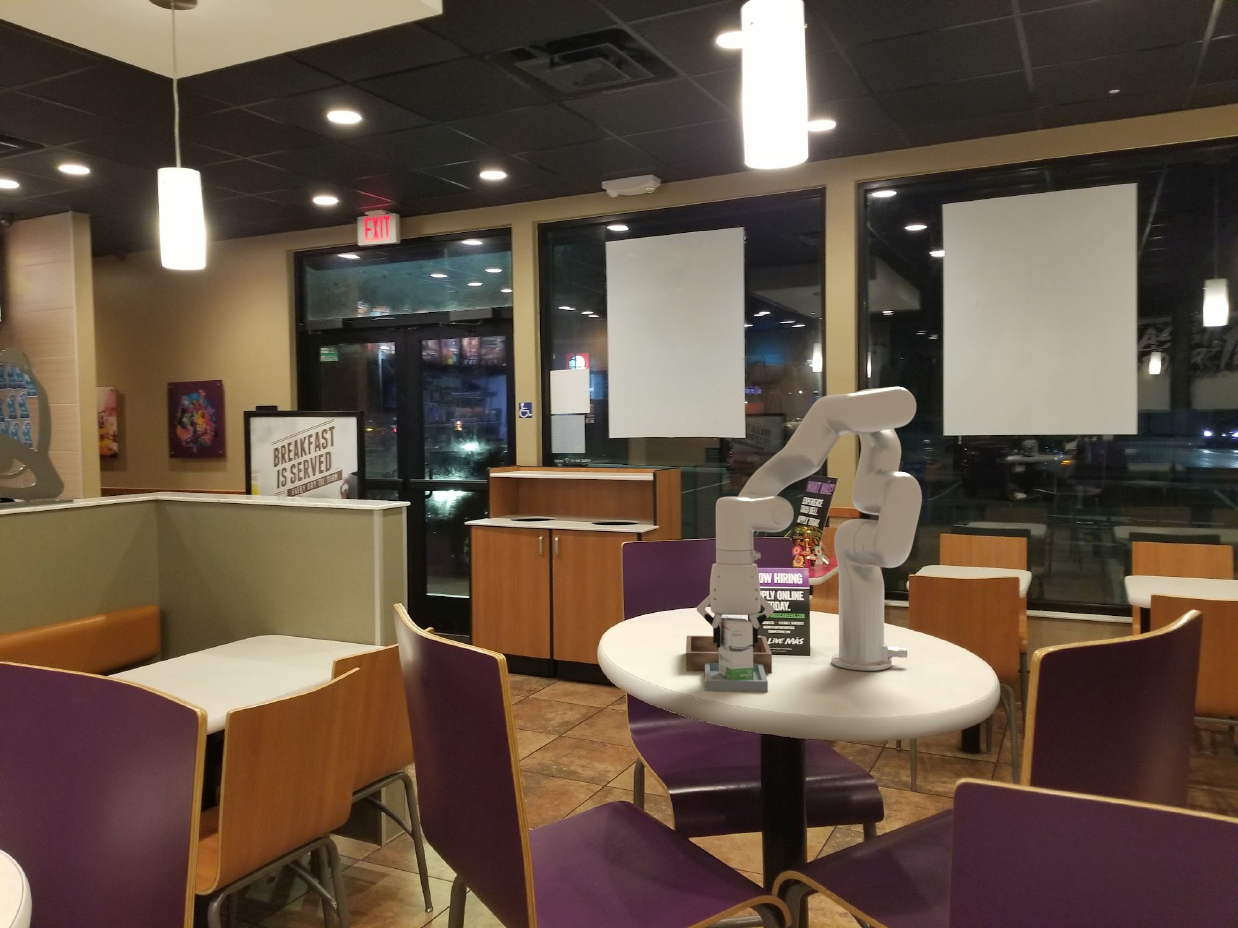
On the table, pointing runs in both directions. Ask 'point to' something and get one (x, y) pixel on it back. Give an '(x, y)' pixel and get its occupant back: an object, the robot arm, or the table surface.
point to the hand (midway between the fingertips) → (735, 645)
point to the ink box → (736, 648)
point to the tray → (721, 683)
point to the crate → (707, 652)
